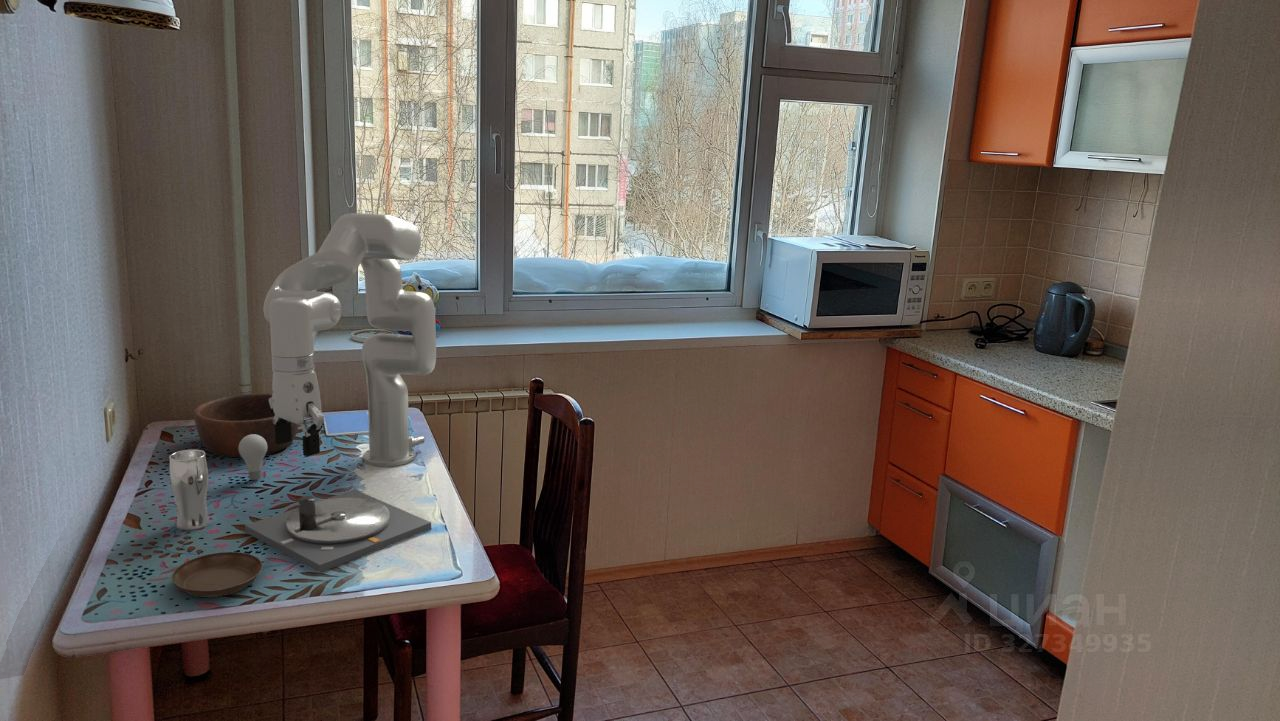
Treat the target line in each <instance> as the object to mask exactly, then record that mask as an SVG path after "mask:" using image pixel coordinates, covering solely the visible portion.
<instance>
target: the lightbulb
mask: <svg viewBox="0 0 1280 721" xmlns="http://www.w3.org/2000/svg"><path fill="white" fill-rule="evenodd" d="M238 449H239V453H240V455H241V456H242V457H241V459H242V460H244V462H245V466H246V469H247V471H248V478H249V480H252V481H255V482H256V481H258V480H259V479H260V478H261V477H262V471H261V470H262V467H263V461H264V458H265V456H266V455H267V454H266V452H267V442H266V440H265V439H264V438H263V437H261V436H259V435H256V434H251V435H248V436H246V437H244V438H243V439H242V440H241V441H240V443H239V447H238ZM265 454H266V455H265Z"/></svg>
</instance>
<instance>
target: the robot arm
mask: <svg viewBox="0 0 1280 721" xmlns="http://www.w3.org/2000/svg"><path fill="white" fill-rule="evenodd" d="M420 234H421V233H420V232H419V230H418V227H417V226H416V225H415V224H414V223H412V222H410V221H407V220H404V219H402V218H399V217H396V216H393V215H389V214H379V213H378V214H376V213H360V212H359V213H357V212H355V213H354V212H351V213H345V214H343V215H341V216H340V217H339V218H338V219H336V220H335V222H334V224H333V226H332V227H331V229H330V231H329V232H328V234H327V236H326V238H325V239H324V241H323V242H322V244H321V246H320V247H319V249H318V250H317V252H316V253H314V254H311V255H309V256H307V257H305V258H303V259H302V260H301V259H300V261H297V262H295V263H294V264H292V265H291V266H289V267H287V268H285V269H283V271H282V272H281V273H280V274H279V275H278V276H277V277H276V278H275V280H274V282H273V284H271V286H270V288H269V290H268V292H267V293H266V296H265V299H264V302H263V314H264V318H265V319H266V320H265V321H266V322H268V323H269V327H270V328H269V330H270V331H269V332H270V348H271V349H270V350H271V367H272V368H271V369H272V382H271V383H272V384H271V385H272V388H271V389H272V390H271V392H272V393H271V394H272V397H271V398H269V404H270V407H271V413H272V415H273V417H274V418H273V423H274V424H276V425H274V426H275V443H276V444H278V445H279V444H283V443H287V442H291V441H292V434H291V422H292V423H295V424H298V425H299V426H300V427H301V430H302V432H303V434H304V435H302V453H303V456H305V457H309V456H314V455H319V454H320V452H321V446H320V444H321V443H320V434H321V433H322V429H323V424H324V422H323V420H324V416H323V415H324V414H323V413H322V404H321V403H322V402H321V393H320V387H319V380H318V376H317V373H316V371H315V367H316V366H315V350H314V349H315V346H314V332H319V331H327V330H330V329H332V328H334V327H335V326H336V325H337V324H338V323H339V321H340V319H341V316H342V304H341V302H340V300H339V298H337V296H336V295H334V294H333V293H331V292H325V291H317V290H321V289H324V288H330V287H334V286H337V285H339V284H343V283H346V282H348V281H349V280H351V279H352V278H353V277H354V276H355V274H356V272H357V270H358V268H359V267H360V266H361V268H362V271H363V275H364V286H365V288H364V289H365V308H366V317H367V321H368V323H369V324H370V326H371V327H373V328H374V329H379V330H388V331H402V332H410V333H411V335H409V334H395V333H376V334H372V335H369V337H368V336H367V338H366V339H365V340H364V341H363V343H362V348H361V357H362V362H363V367H364V371H365V376H366V387H367V412H368V420H369V434H368V441H369V442H368V443H369V449H367V450H366V451H365V452H364V453H363V455H362V456H363V457H362V458H363V461H364V462H365V463H367V465H371V466H376V467H395V466H396V467H397V466H400V465H401V466H402V465H405V464H409V463H411V462H412V461H413V460H414V459H416V456H417V455H416V451H415V449H413V448H415V446H417V445H418V446H419V445H421V444H425V438H424V436H422V435H420V436H417V437H414V436H412V435H411V436H410V433H409V432H410V428H409V392H408V387H407V383H406V382H405V381H404V379H403V378H402V376H401V375H411V376H426V375H429V374H431V373H432V372H433V371H434V369H435V367H436V362H437V331H436V330H437V328H436V310H435V308H436V307H435V304H434V302H433V299H432V298H431V296H430V295H429V294H428V293H425V292H422V291H409V290H404V288H403V277H402V276H403V273H402V268H401V266H400V264H399V262H398V261H411V260H413V259H415V258H416V257H417V256H418V254H419V252H420V250H421V246H422V244H421V243H422V239H421V235H420ZM287 421H289V422H287ZM308 425H310V426H309V428H308ZM292 442H293V441H292Z"/></svg>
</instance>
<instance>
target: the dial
mask: <svg viewBox="0 0 1280 721" xmlns="http://www.w3.org/2000/svg"><path fill="white" fill-rule="evenodd" d="M315 500H316V499H315V497H314V496H311V495H309V496H308V495H306V496H302V497H299V498H298V501H297V502H298V508H299V509H297V510H295V511H294V512H292V513H291V514H290V515H289V516H288V518H287V520H286V527H287V531H288V533H289V534H290V535H291V536H292V537H294V538H296V539H298V540H301V541H305V542H310V543H319V544H335V543H345V542H351V541H356V540H360V539H364V538H367V537H370V536H372V535H374V534H376V533H378V532H380V531H381V530H383V529H384V528H385V527H386V526H387V525H388V523H389V521H390V512H389V510H388V508H387V507H386V506H385V505H383V504H381V503H379V502H376V501H373V500H369V499H362V498H335V499H328V500H324V499H322V501H321V500H318V501H315Z"/></svg>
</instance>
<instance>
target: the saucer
mask: <svg viewBox="0 0 1280 721" xmlns="http://www.w3.org/2000/svg"><path fill="white" fill-rule="evenodd" d="M263 566H264V564H263V562H262V560H261V559H260V558H259V557H258V556H255V555H253V554H250V553H246V552H239V551H223V552H222V551H220V552H214V553H209V554H204V555H199V556H197V557H195V558H192V559H190V560H187V561H186V562H182V564H181V565H178V567H176V568H175V570H173V572H172V575H171V581H172V582H173V584H175V585H176V587H177V588H179V589H180V590H181V591H184V592H185V593H187V594H189V595H192V596H194V597H200V598H219V597H223V595H224V596H229V595H232V594H235V593H237V592H240V591H242V590H243V588H244V589H245V588H247V587H248V586H249V585H250V584H252V583H253V582H254V581H255V580H256V579H257V578H258V576H260V573H261V572H262V570H263V568H264V567H263ZM239 590H240V591H239ZM228 594H229V595H228ZM218 596H219V597H218Z"/></svg>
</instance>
